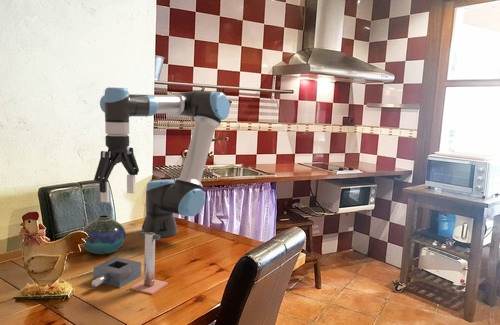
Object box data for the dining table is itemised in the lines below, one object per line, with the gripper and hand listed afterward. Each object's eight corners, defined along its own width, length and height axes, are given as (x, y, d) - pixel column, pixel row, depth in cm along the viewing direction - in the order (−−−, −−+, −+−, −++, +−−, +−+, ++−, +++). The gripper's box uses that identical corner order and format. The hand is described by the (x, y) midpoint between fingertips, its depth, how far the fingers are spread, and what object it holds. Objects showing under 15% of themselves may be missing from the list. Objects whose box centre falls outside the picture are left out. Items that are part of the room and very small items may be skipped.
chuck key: (160, 285, 119) (162, 234, 118) (154, 289, 117) (156, 236, 115) (143, 280, 122) (144, 230, 120) (137, 284, 119) (138, 233, 117)
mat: (146, 278, 124) (146, 277, 124) (168, 284, 122) (168, 282, 121) (130, 288, 117) (130, 287, 117) (152, 294, 114) (152, 293, 114)
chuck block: (116, 269, 130) (116, 256, 130) (140, 275, 127) (141, 262, 126) (81, 287, 116) (81, 273, 116) (107, 294, 113) (107, 280, 112)
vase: (99, 242, 155) (99, 209, 154) (133, 247, 151) (133, 214, 149) (71, 255, 141) (71, 219, 139) (108, 261, 136) (108, 224, 135)
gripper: (131, 131, 143) (131, 188, 146) (80, 136, 120) (82, 204, 123) (148, 133, 141) (149, 190, 144) (100, 138, 117) (102, 207, 121)
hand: (118, 197), depth 134 cm, fingers open, 13 cm apart
